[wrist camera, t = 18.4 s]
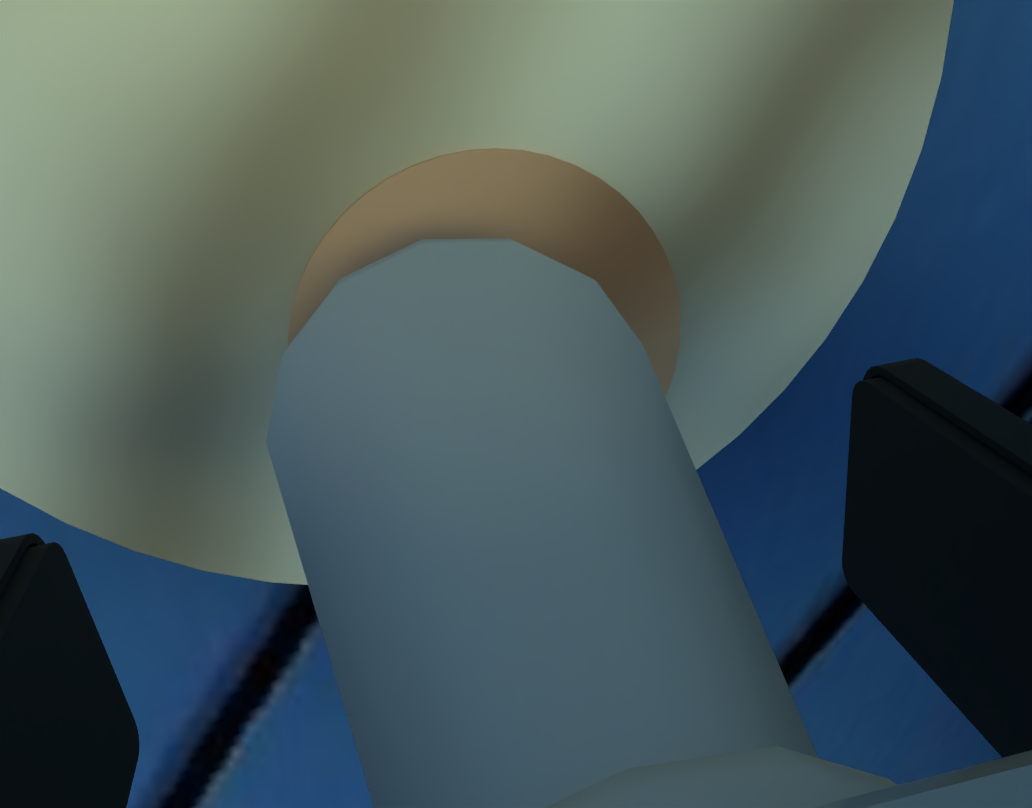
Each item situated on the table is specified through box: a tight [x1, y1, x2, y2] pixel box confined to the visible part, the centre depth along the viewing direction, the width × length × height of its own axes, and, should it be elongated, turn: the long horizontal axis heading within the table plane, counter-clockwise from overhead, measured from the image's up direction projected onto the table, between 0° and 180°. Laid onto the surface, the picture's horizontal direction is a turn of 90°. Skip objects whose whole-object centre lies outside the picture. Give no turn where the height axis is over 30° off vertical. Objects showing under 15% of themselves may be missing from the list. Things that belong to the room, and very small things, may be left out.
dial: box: [0, 0, 954, 585], centre depth 12 cm, size 19×19×7 cm
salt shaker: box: [266, 238, 897, 808], centre depth 10 cm, size 6×6×13 cm
